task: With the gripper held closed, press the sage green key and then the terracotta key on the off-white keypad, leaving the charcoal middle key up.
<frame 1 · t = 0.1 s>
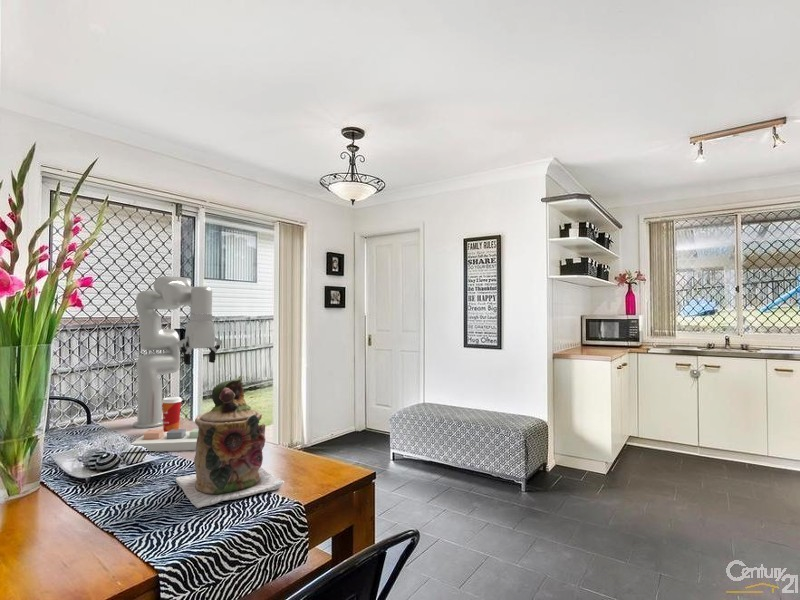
hand: (199, 363, 172), 31 cm above the table, tool pointing down, fingers open, 9 cm apart
charcoal key: (176, 434, 171), point 4 cm above the table, slide at 0.0 cm
cookie jar: (229, 486, 131), on the table
keypad: (176, 444, 171), on the table
paper cup: (170, 432, 189), on the table
terracotta key: (153, 434, 170), point 4 cm above the table, slide at 0.0 cm
sage key: (198, 433, 172), point 4 cm above the table, slide at 0.0 cm
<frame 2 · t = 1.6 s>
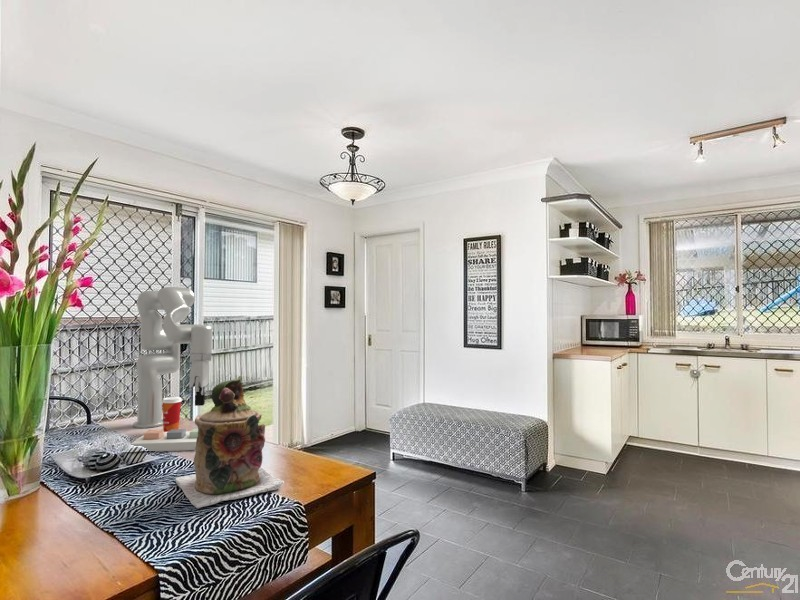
hand: (199, 405, 173), 15 cm above the table, tool pointing down, fingers closed
nothing on the table moved.
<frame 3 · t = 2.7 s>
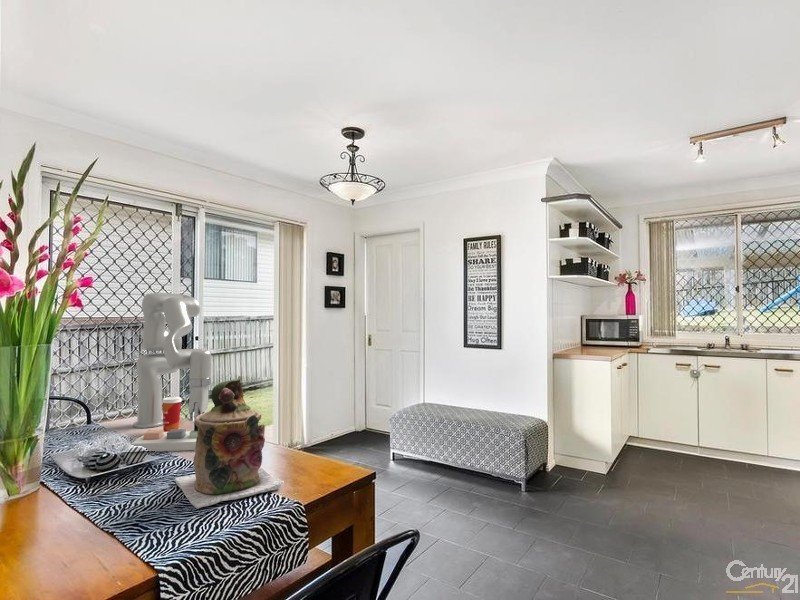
hand: (199, 430, 172), 5 cm above the table, tool pointing down, fingers closed
sage key: (198, 433, 172), point 4 cm above the table, slide at 0.1 cm, touching gripper
everything else where it was.
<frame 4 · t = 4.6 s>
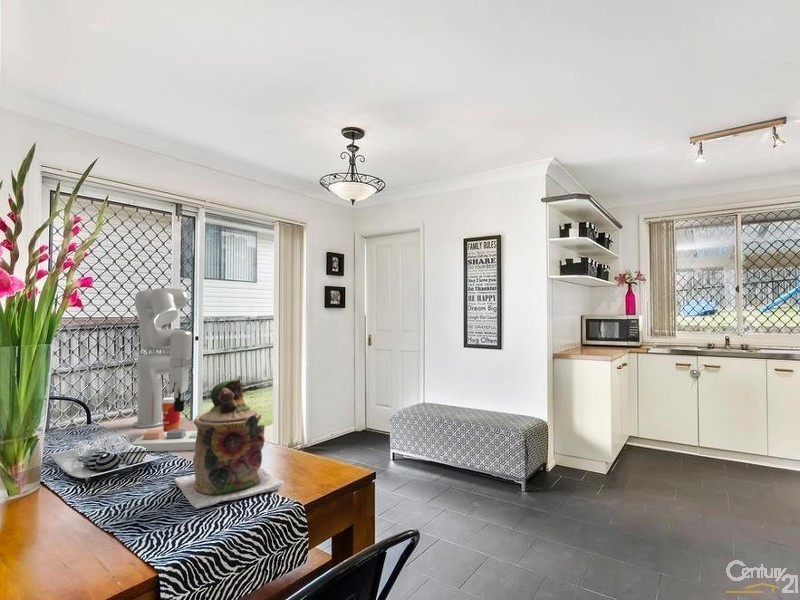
hand: (178, 410, 172), 13 cm above the table, tool pointing down, fingers closed
sage key: (198, 437, 172), point 2 cm above the table, slide at 1.6 cm
everything else where it was.
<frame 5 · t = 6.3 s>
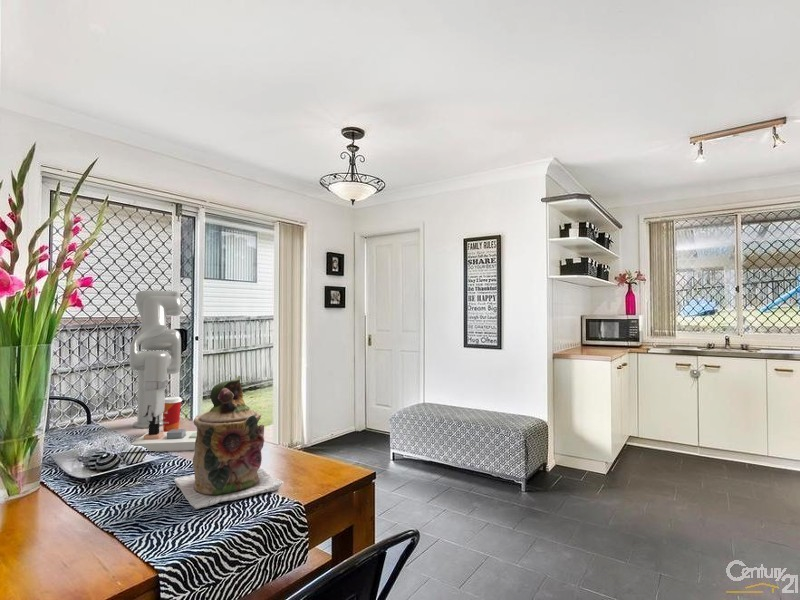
hand: (153, 434, 169), 4 cm above the table, tool pointing down, fingers closed
terracotta key: (153, 437, 170), point 3 cm above the table, slide at 0.9 cm, touching gripper
everything else where it was.
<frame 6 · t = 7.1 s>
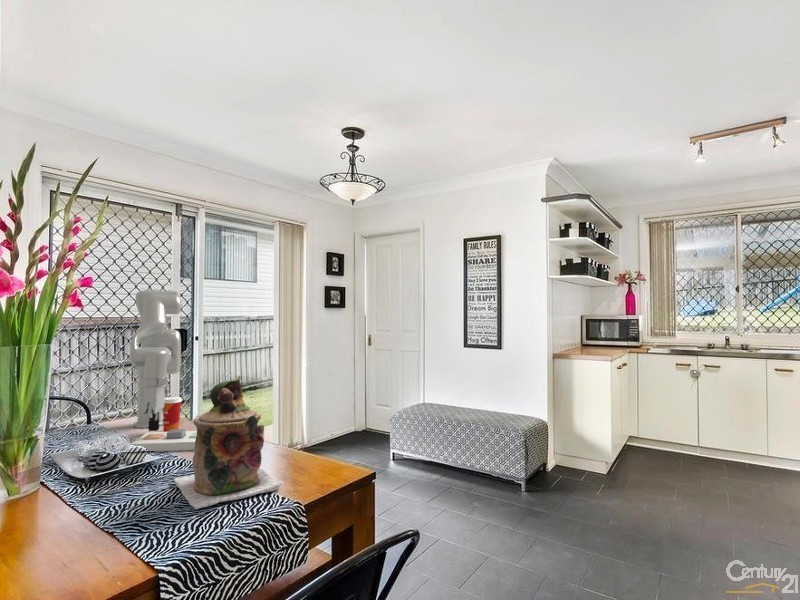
hand: (153, 430, 170), 5 cm above the table, tool pointing down, fingers closed
terracotta key: (153, 438, 170), point 2 cm above the table, slide at 1.6 cm
everything else where it was.
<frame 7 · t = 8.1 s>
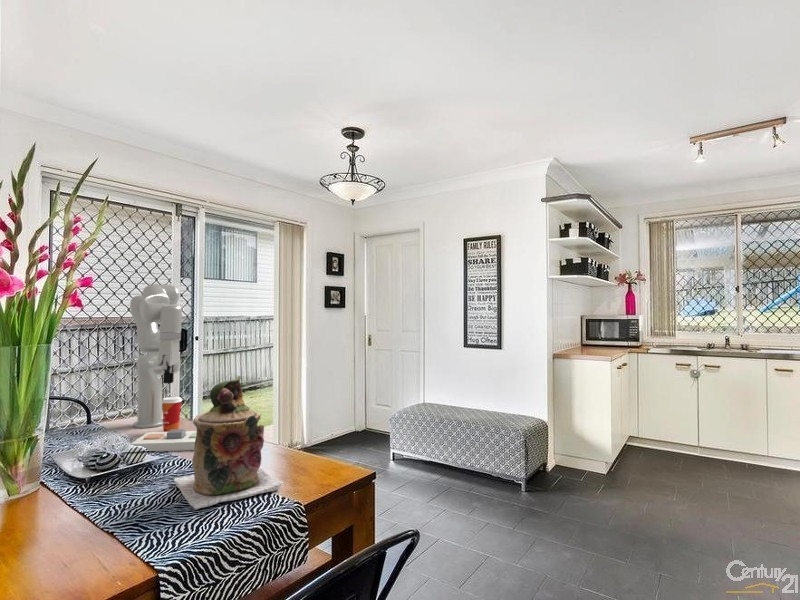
hand: (168, 382, 177), 23 cm above the table, tool pointing down, fingers closed
nothing on the table moved.
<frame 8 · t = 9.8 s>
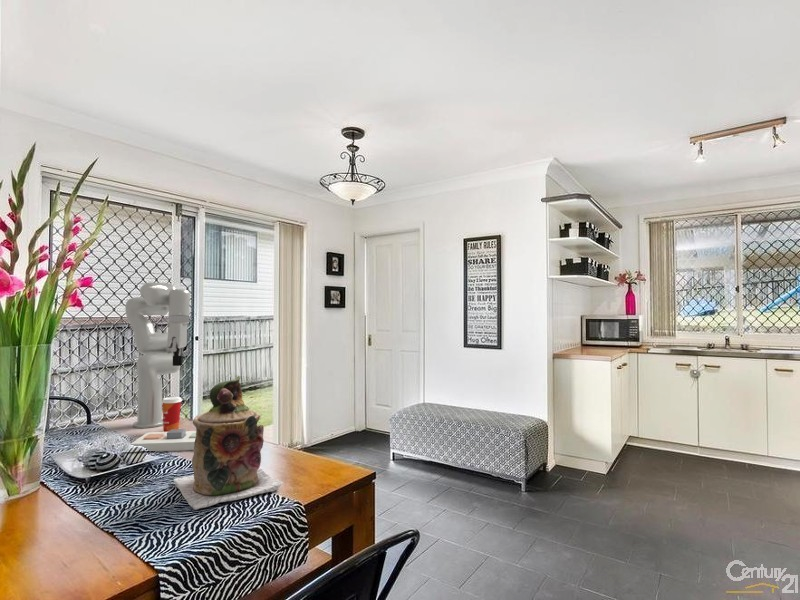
hand: (177, 365, 180), 29 cm above the table, tool pointing down, fingers closed
nothing on the table moved.
at the end: sage key slide at 1.6 cm; terracotta key slide at 1.6 cm; charcoal key slide at 0.0 cm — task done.
